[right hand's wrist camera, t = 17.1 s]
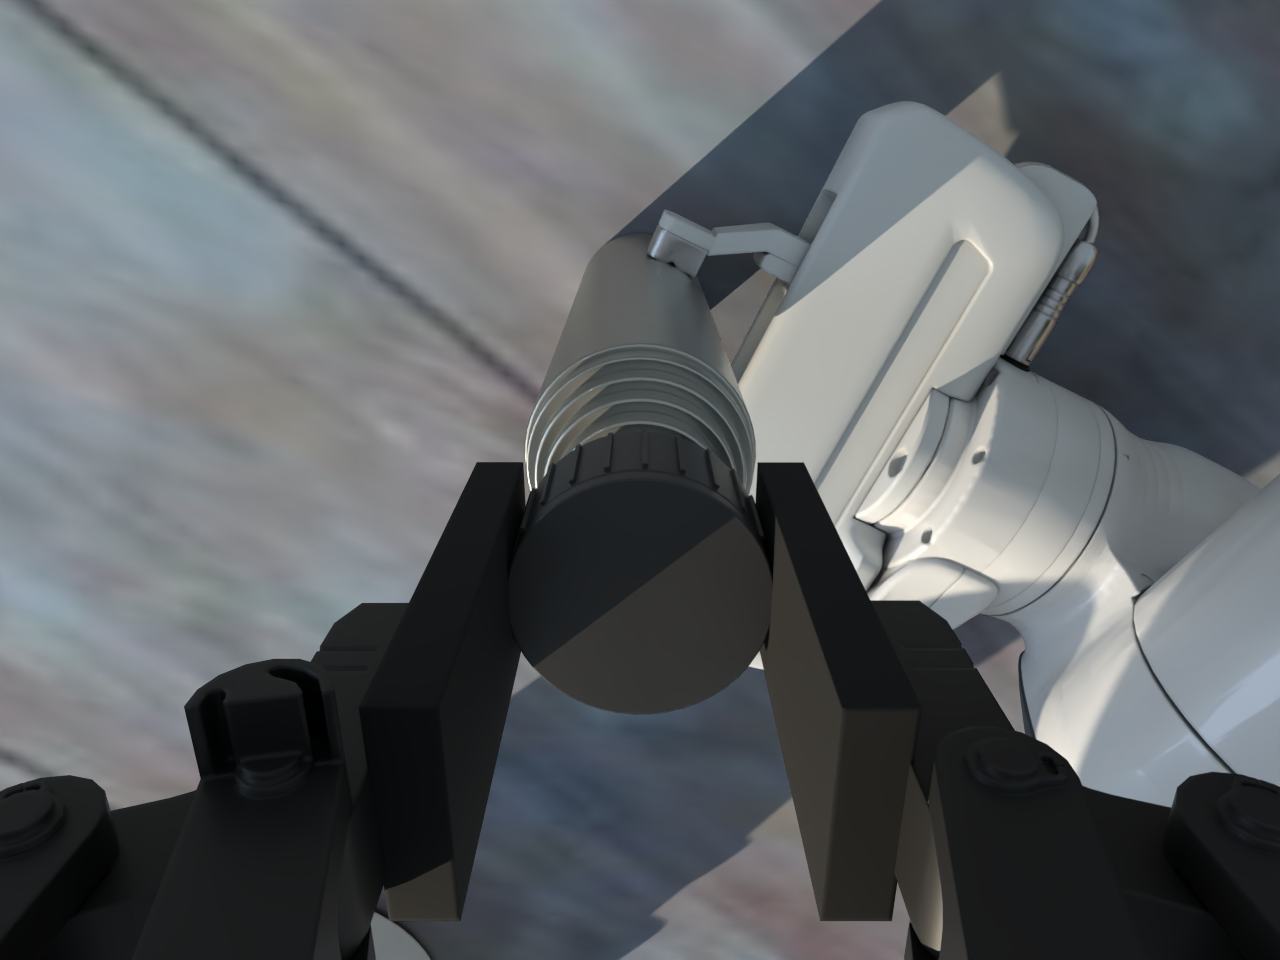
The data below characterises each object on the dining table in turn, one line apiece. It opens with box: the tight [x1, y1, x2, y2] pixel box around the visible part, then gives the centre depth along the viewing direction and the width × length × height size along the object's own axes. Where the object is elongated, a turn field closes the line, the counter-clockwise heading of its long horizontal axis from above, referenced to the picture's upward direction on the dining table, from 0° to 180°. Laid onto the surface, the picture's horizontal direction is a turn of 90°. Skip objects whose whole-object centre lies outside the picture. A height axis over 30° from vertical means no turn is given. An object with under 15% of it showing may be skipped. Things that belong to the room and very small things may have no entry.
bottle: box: [524, 233, 756, 496], centre depth 25 cm, size 5×5×25 cm
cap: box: [508, 429, 773, 714], centre depth 14 cm, size 4×4×2 cm
